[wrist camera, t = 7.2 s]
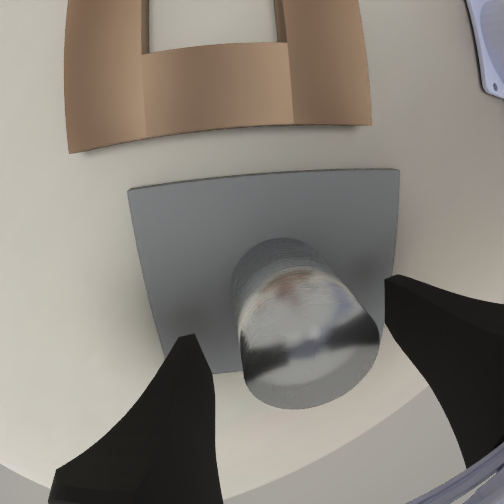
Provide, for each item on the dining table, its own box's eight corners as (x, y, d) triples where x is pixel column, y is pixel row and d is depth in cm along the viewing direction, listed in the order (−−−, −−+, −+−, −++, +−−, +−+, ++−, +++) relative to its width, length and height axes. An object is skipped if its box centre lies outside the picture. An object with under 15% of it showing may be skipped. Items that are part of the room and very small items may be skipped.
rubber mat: (392, 168, 13) (399, 170, 13) (375, 339, 17) (379, 345, 16) (130, 188, 12) (127, 191, 11) (172, 369, 16) (171, 376, 15)
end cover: (316, 225, 13) (377, 281, 8) (330, 308, 15) (378, 383, 10) (218, 254, 13) (224, 330, 8) (245, 334, 15) (262, 421, 10)
